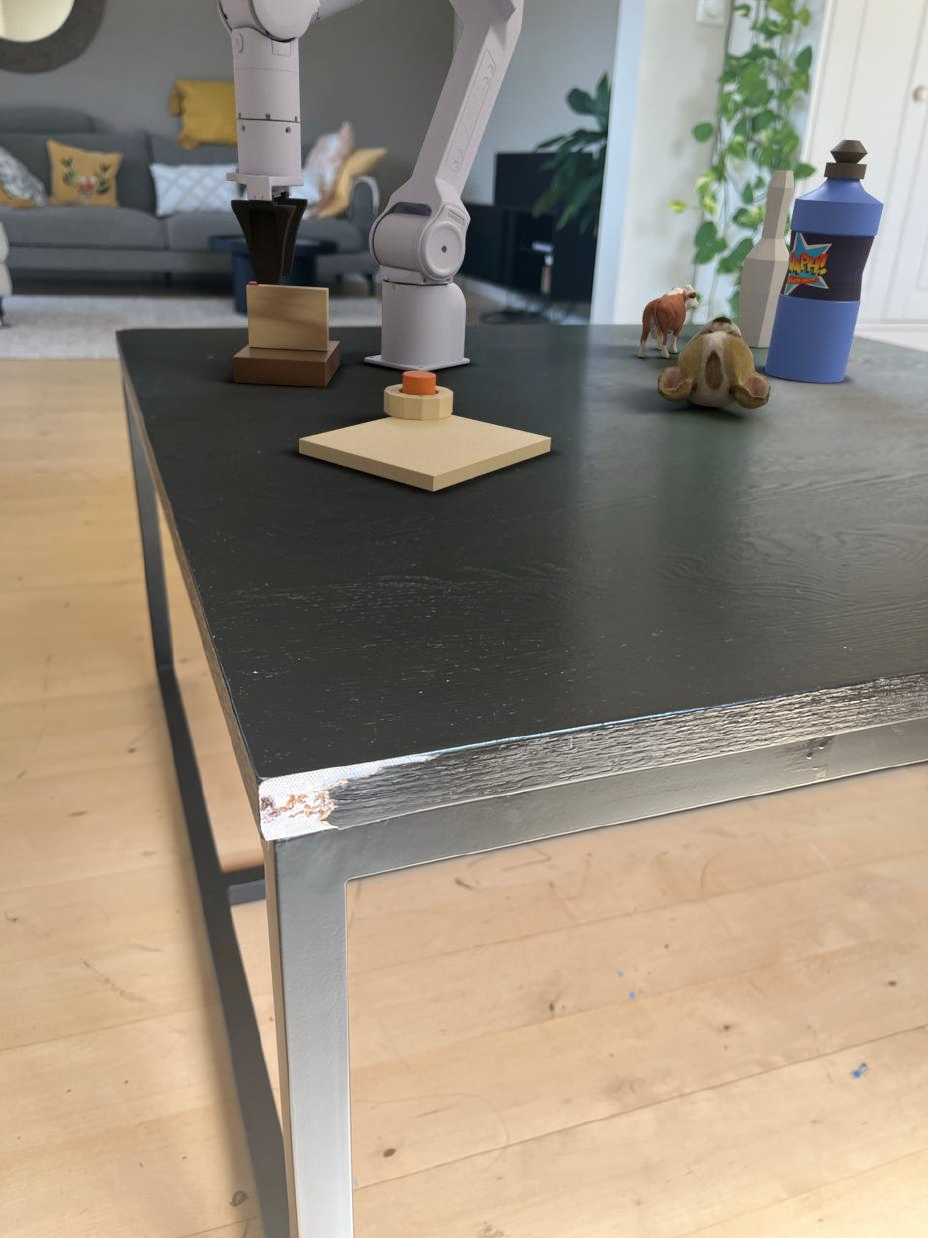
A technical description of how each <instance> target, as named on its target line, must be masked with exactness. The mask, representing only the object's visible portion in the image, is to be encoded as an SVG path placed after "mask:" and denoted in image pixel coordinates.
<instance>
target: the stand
mask: <svg viewBox="0 0 928 1238" xmlns="http://www.w3.org/2000/svg"><path fill="white" fill-rule="evenodd" d="M340 365H341V341H340V340H329V349H328V351H315V350H296V349H277V348H258V347H249V343H248V344H247V345H246V346H244V347H243V348H242V349H241V350H239V351H238V352H237V353H236V354H234V355H233V356H232V369H233V371H232V372H233V383H236V384H253V385H254V384H255V385H256V384H257V385H274V386H291V387H293V386H294V387H311V388H312V387H313V388H315V387H326V386H328V384H329V382H330V381H331V379H332V378H333V376H334V375H335V373H336V372H337V370H338V368H340Z"/></svg>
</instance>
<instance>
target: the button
mask: <svg viewBox="0 0 928 1238" xmlns="http://www.w3.org/2000/svg"><path fill="white" fill-rule="evenodd" d="M401 380H402V381H401V382H402V383H401V384H402V393H404V394H409V395H420V396H421V395H435V389H436V386H437V385H436V384H437V374H436V373H433V372H432V371H431V372H430V371H404V372H403V373H402V379H401Z"/></svg>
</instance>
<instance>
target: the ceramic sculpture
mask: <svg viewBox="0 0 928 1238" xmlns="http://www.w3.org/2000/svg"><path fill="white" fill-rule="evenodd" d="M771 390H772V385H771V384H770V383H769V379H768V377H767V376H766V375H764V374H761V373H759V372H757V370H756V368H755V361H754V355H753V352H752V350H751V349H750V347H748V345H747V343H746V342H745V340H744V339H743V338H742V336H741V333H740V330H739V328H738V325H737V324H736V323H735V322H733V321H732V320H731V319H730V318H728V317H725V316H718V317H715V318H714V319H712V320H710V321H708V322H707V323H705V324H704V325H703V326H702V327H701V329H700V330H699V331H698V332H697V333H696V334H695V335H693V336H692V337H691V338H690V339H689V341H688V342H687V344H686V345H684V347H683V348H682V350H681V351H680V352H679V354H678V358H677V362H676V363H675V365H673V366H667V367H664V368H663V369H662V370H661V373H660V374H659V375H658V377H657V393H658V395H659V396H660V397H662V399H664V400H665V401H668V402H670V403H671V402H672V403H676V402H677V403H678V402H681V401H683V400H685V399H686V398H687V399H688V400H689V401H690V402H692V403H693V404H696V405H698V406H702V407H710V408H723V407H727V406H730V405H731V404H734V403H737V404H739V406H740V407H742V408H743V409H747V410H756V409H758V408H762V407H764V406H765V405H766V404H768V402H769V399H770V395H771Z"/></svg>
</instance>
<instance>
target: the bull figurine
mask: <svg viewBox="0 0 928 1238" xmlns="http://www.w3.org/2000/svg"><path fill="white" fill-rule="evenodd" d="M697 295H698V294H697V292H696V290H695V289H694V288H693V286H692V285H691V284H687V283H686V284H684V285H682V286H681V287H672V288H671V290H670V291H669V292H666V293H665V294H663V295H662V296H661V297H657V298H656V299H653V300H651V301H649V302H648V303H647V304H646V305H645V307H644V308H643V311H642V316H641V322H642V323H641V324H642V330H641V331H642V332H641V336H640V338H639V339H640V341H639V342H640V343H639V344H640V345H639V349H638V353H637V357H639V358H646V351H645V349H646V348H645V346H646V343H647V341H648V338H649V335H650V334H651V339H653V340H656V346H655V347H656V348H655V349H656V350H659V351H660V356H661V357H662V358H664V359H665V358H666V359H669V358H670V354H669V352H670V353H672V354H678V349H677V341H678V340H679V338H680V334H681V331H682V329H683V327H684V323H685V321H686V318H687V312H688V311H689V310H690V309H693V310H694V309H698V308H699V305H700V303H699V301H698V300H697ZM671 334H672V335H671ZM668 335H671V342H670V345H669V347H668V349H667V344H668V343H667V342H668ZM668 350H669V352H668Z"/></svg>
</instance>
